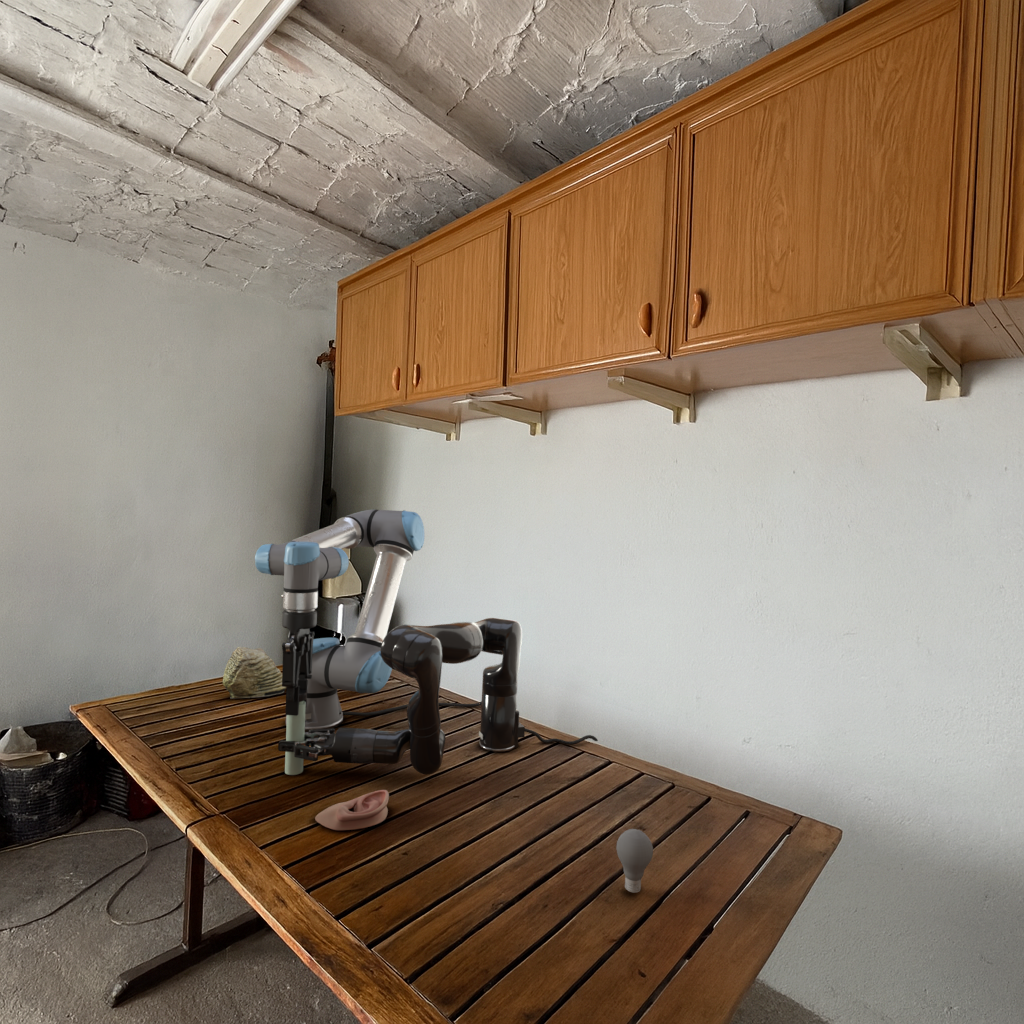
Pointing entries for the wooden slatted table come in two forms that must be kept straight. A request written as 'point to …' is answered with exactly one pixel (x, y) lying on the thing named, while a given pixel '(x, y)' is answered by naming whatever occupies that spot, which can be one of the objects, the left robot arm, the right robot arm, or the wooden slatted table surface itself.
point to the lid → (302, 695)
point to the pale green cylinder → (295, 733)
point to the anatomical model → (356, 812)
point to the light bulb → (634, 857)
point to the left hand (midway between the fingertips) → (296, 710)
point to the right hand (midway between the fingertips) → (283, 741)
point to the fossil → (252, 674)
